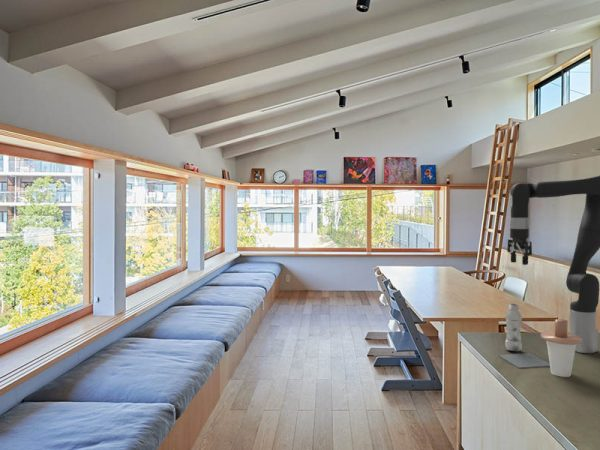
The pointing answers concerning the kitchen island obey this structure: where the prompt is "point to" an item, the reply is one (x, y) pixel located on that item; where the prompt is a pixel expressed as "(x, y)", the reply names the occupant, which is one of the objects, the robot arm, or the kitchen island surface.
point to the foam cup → (561, 358)
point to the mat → (524, 360)
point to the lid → (561, 334)
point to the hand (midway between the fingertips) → (519, 263)
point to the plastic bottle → (513, 328)
